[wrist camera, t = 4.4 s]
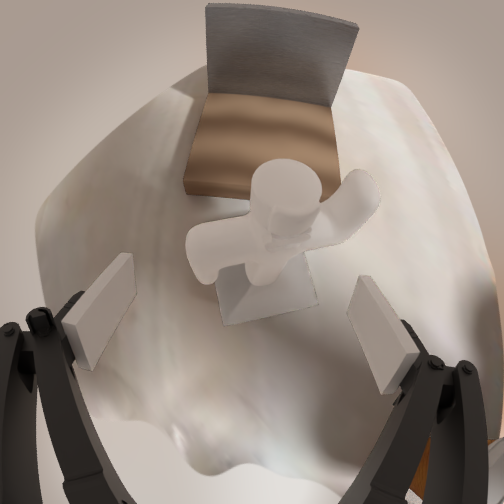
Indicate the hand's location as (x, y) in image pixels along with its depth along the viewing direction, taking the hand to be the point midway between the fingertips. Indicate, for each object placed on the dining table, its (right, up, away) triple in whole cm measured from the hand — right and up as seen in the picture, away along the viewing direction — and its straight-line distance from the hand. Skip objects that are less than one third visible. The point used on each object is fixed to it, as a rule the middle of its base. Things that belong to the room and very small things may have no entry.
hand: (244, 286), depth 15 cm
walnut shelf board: (+2, +14, +14) cm, 20 cm away
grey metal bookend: (+3, +21, +14) cm, 26 cm away
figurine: (+1, -1, +9) cm, 9 cm away
